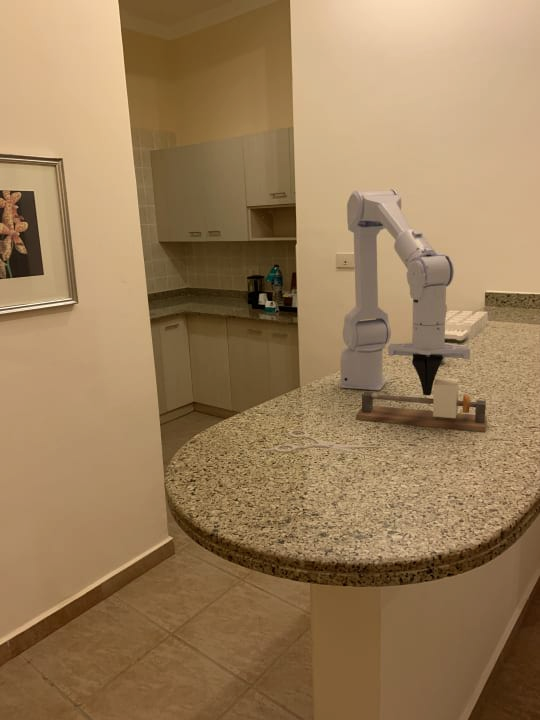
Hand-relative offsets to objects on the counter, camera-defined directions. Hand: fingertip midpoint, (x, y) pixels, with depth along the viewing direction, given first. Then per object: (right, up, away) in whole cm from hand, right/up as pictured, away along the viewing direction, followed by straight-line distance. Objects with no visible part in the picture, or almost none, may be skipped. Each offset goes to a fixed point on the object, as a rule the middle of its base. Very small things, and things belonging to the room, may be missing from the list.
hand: (427, 393), depth 102 cm
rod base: (-1, -5, +2) cm, 6 cm away
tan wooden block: (+3, -4, 0) cm, 5 cm away
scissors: (-20, -9, -8) cm, 23 cm away
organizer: (+32, +15, +78) cm, 86 cm away
